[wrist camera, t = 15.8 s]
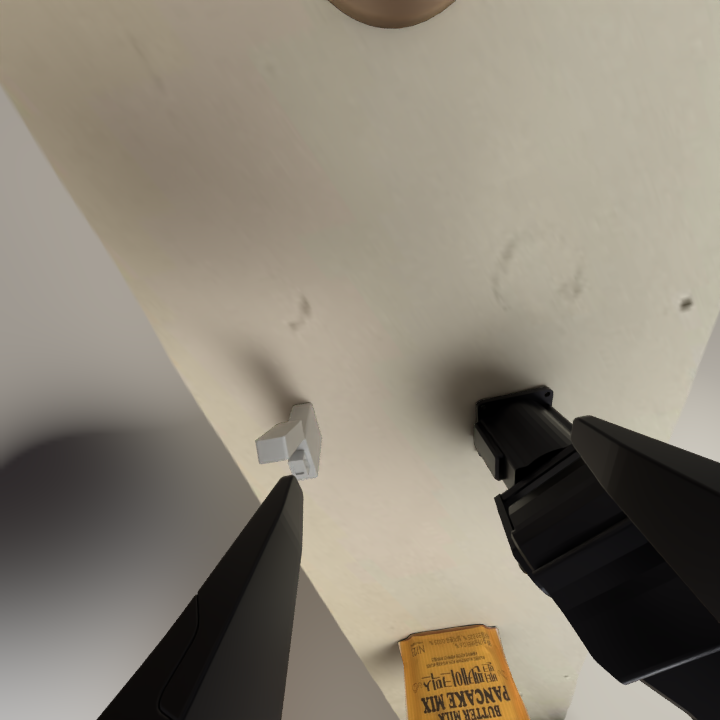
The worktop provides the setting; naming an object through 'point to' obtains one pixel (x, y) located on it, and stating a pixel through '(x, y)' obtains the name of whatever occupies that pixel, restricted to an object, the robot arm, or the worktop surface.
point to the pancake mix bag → (459, 676)
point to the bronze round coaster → (392, 11)
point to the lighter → (294, 443)
